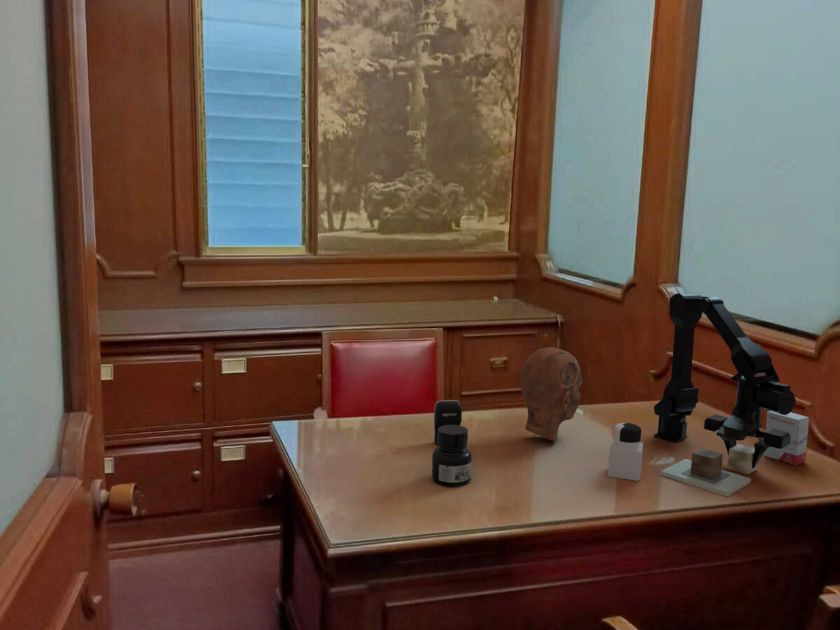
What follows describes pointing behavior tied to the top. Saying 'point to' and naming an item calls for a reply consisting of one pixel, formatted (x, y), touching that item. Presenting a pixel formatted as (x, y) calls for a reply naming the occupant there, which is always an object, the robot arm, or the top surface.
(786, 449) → the ink box
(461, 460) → the ink bottle
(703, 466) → the walnut cube
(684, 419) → the robot arm
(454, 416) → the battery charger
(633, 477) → the medicine bottle
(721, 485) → the board
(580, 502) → the top surface
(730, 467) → the maple cube
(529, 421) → the head sculpture
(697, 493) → the top surface
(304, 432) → the top surface
